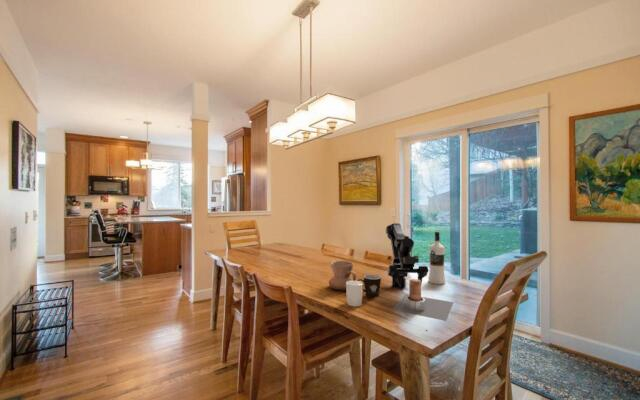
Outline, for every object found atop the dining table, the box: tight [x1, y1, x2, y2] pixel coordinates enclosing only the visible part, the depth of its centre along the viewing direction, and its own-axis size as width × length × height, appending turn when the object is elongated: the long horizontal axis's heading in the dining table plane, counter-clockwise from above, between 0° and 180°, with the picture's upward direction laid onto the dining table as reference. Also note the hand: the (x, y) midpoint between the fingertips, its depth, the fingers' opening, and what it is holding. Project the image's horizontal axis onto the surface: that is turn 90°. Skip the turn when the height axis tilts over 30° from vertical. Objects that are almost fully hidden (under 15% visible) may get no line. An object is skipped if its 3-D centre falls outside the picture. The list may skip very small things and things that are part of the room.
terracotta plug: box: [408, 278, 422, 301], centre depth 131 cm, size 5×5×12 cm
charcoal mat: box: [391, 293, 454, 321], centre depth 133 cm, size 22×24×1 cm
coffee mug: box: [356, 274, 382, 300], centre depth 149 cm, size 12×9×10 cm
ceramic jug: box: [328, 260, 357, 291], centre depth 161 cm, size 18×14×14 cm
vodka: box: [428, 231, 446, 285], centre depth 173 cm, size 9×9×30 cm
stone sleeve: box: [405, 296, 425, 311], centre depth 131 cm, size 8×8×4 cm
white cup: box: [345, 280, 364, 308], centre depth 138 cm, size 8×8×10 cm
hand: (410, 286), depth 139 cm, fingers open, 9 cm apart
